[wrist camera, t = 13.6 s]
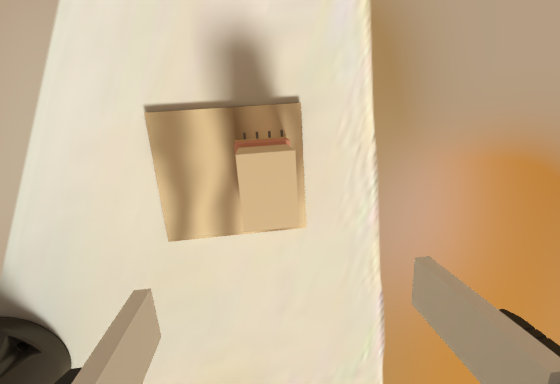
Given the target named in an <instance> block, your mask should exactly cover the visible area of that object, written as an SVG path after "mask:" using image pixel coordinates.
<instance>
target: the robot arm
mask: <svg viewBox="0 0 560 384" xmlns="http://www.w3.org/2000/svg"><path fill="white" fill-rule="evenodd" d="M412 305H413V306H414V307H415V308H416V309H417V310H418V312H419V313H420V314H421V315H422V316H423V318H424V319H425V320H426V321H427V322H428V323H429V324H430V326H431V327H432V328H433V329H434V330H435V331H436V332H437V334H438V335H439V336H440V337H441V338H442V339H443V341H444V342H445V343H446V344H447V345H448V346H449V347H450V349H451V350H452V351H453V352H454V353H455V354H456V355H457V357H458V358H459V359H460V360H461V361H462V362H463V364H464V365H465V366H466V367H467V368H468V369H469V370H470V372H472V374H473V375H474V376H475V377H476V378H477V380H478V381H479V382H480V383H481V384H560V346H559V345H558V344H556V343H555V342H554V341H552V340H551V339H549V338H547V337H546V336H545V335H544V334H542V333H541V332H540V331H538V330H535V328H534V327H533V326H531V325H530V324H529V323H528V322H526V321H525V320H524V319H522V318H521V317H519V316H517V315H515V314H513V313H511V312H509V311H507V310H505V309H500V310H498V309H497V308H495V307H494V306H493V305H491V304H490V303H489V302H488V301H486V300H485V299H484V298H482V297H481V296H480V295H479V294H477V293H476V292H475V291H473V290H472V289H471V288H470V287H468V286H467V285H466V284H464V283H463V282H462V281H460V280H459V279H458V278H457V277H455V276H454V275H453V274H451V273H450V272H449V271H448V270H446V269H445V268H443V267H442V266H441V265H440V264H438V263H437V262H436V261H434V260H433V259H432V258H431V257H429V256H427V257H418V258H415V264H414V278H413V291H412ZM160 338H161V333H160V329H159V324H158V320H157V315H156V310H155V306H154V301H153V297H152V292H151V289H143V290H134V291H133V293H132V294H131V296H130V297H129V299H128V300H127V302H126V303H125V305H124V306H123V308H122V309H121V311H120V312H119V313H118V315H117V316H116V318H115V319H114V321H113V322H112V324H111V325H110V327H109V328H108V330H107V331H106V333H105V334H104V336H103V337H102V339H101V340H100V342H99V343H98V345H97V346H96V348H95V349H94V351H93V352H92V354H91V355H90V357H89V358H88V360H87V361H86V363H85V364H84V366H83V367H82V368H75V369H71V360H70V356H69V354H68V352H67V350H66V348H65V346H64V345H63V343H62V342H61V341H60V340H59V339H58V338H57V337H56V336H55V335H54V334H52V333H51V332H50V331H48V330H47V329H45V328H43V327H41V326H39V325H37V324H35V323H32V322H29V321H26V320H22V319H16V318H7V317H0V384H142V383H143V380H144V378H145V375H146V373H147V370H148V368H149V365H150V363H151V360H152V358H153V356H154V353H155V351H156V348H157V346H158V343H159V341H160Z"/></svg>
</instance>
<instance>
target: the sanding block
mask: <svg viewBox="0 0 560 384" xmlns="http://www.w3.org/2000/svg"><path fill="white" fill-rule="evenodd" d="M234 148H235V157H236V166H237V176H238V185H239V194H240V203H241V213H242V220H243V230H244V232H252V231H262V230H272V229H282V228H292V227H299V214H298V194H297V174H296V154H295V150H294V149H293V148H292V147H290V140H289V139H287V137H273V138H259V139H246V140H235V143H234Z"/></svg>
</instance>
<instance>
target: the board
mask: <svg viewBox="0 0 560 384" xmlns="http://www.w3.org/2000/svg"><path fill="white" fill-rule="evenodd" d="M144 114H145V119H146V124H147V130H148V135H149V140H150V146H151V151H152V156H153V162H154V167H155V172H156V177H157V183H158V188H159V193H160V199H161V204H162V209H163V215H164V220H165V225H166V231H167V236H168V241H169V242H170V241H179V240H189V239H199V238H209V237H218V236H228V235H238V234H248V233H258V232H267V231H277V230H287V229H297V228H306V213H305V190H304V166H303V143H302V120H301V103H288V104H273V105H257V106H241V107H226V108H210V109H194V110H179V111H163V112H147V113H144ZM273 137H287V139H289V140H290V147H292V148H293V149H294V150H295V154H296V174H297V194H298V214H299V227H292V228H282V229H272V230H262V231H252V232H244V230H243V220H242V213H241V203H240V194H239V185H238V176H237V166H236V157H235V148H234V143H235V140H246V139H259V138H273Z"/></svg>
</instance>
